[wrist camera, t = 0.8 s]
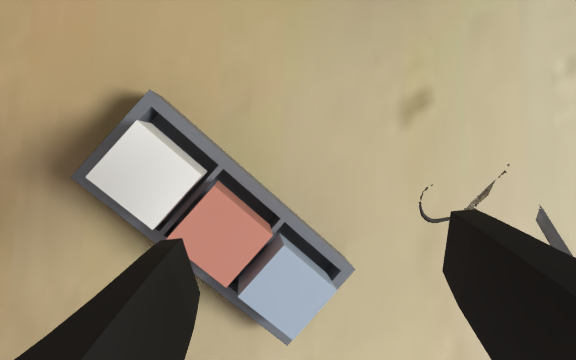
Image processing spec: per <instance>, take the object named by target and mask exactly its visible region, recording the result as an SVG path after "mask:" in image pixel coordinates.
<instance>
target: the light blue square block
mask: <svg viewBox="0 0 576 360" xmlns="http://www.w3.org/2000/svg"><path fill="white" fill-rule="evenodd" d="M336 291H337V289H336V287H335V286H334V284H333V282H332V281H331V279H330V278H329V276H328V275H327V273H326V272H325V271H324V270H322V269H321V268H320V267H319V266H318V265H317V264H315V263H314V262H313V261H312V260H311V259H310V258H308V257H307V256H306V255H305V254H304V253H303V252H301V251H300V250H299V249H298V248H297V247H296V246H294V245H293V244H292V243H291V242H290V241H288V240H287V239H286V238H285V237H284V236H283V235H281V234H280V233H279V234H278V235H277V236H276V237H275V238H274V239H273V241H272V242H271V243H270V244H269V245H268V246H267V247H266V248H265V249H264V251H263V252H262V253H261V254H260V255H259V256H258V257H257V258H256V260H255V261H254V262H253V263H252V264H251V265H250V266H249V267H248V268H247V270H246V271H245V272H244V273H243V274H242V275H241V276H240V277H239V283H238V298H240V299H241V300H242V301H244V302H245V303H246V304H247V305H249V306H250V307H251V308H252V309H254V310H255V311H256V312H258V313H259V314H260V315H261V316H263V317H264V318H265V319H267V320H268V321H269V322H270V323H272V324H273V325H274V326H275V327H277V328H278V329H279V330H281V331H282V332H283V333H284V334H286V335H287V336H288V337H289V338H291V339H292V340H294V338H295V337H296V336H297V335H298V334H299V333H300V332H301V331H302V330H303V328H304V327H305V326H306V325H307V324H308V323H309V322H310V321H311V319H312V318H313V317H314V316H315V315H316V314H317V313H318V312H319V310H320V309H321V308H322V307H323V306H324V305H325V304H326V303H327V301H328V300H329V299H330V298H331V297H332V296H333V295H334V294H335V292H336Z"/></svg>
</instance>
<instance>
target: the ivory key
mask: <svg viewBox="0 0 576 360" xmlns="http://www.w3.org/2000/svg"><path fill="white" fill-rule="evenodd" d="M206 173H207V170H205V169H204V168H203V167H202V166H201V165H200V164H198V163H197V162H196V161H195V160H194V159H193V158H191V157H190V156H189V155H188V154H187V153H186V152H184V151H183V150H182V149H181V148H180V147H179V146H177V145H176V144H175V143H174V142H173V141H172V140H170V139H169V138H168V137H167V136H166V135H164V134H163V133H162V132H161V131H160V130H159V129H157V128H156V127H155V126H154V125H153V124H152V123H147V122H143V121H139V120H136V121H135V123H134V124H133V125H132V126H131V127H130V128H129V129H128V130H127V131H126V133H125V134H124V135H123V136H122V137H121V138H120V139H119V140H118V141H117V143H116V144H115V145H114V146H113V147H112V148H111V149H110V150H109V151H108V152H107V154H106V155H105V156H104V157H103V158H102V159H101V160H100V161H99V162H98V164H97V165H96V166H95V167H94V168H93V169H92V170H91V171H90V172H89V174H88V175H87V176H86V178H87V179H88V180H89V181H91V182H92V183H93V184H95V185H96V186H97V187H98V188H100V189H101V190H102V191H103V192H105V193H106V194H107V195H109V196H110V197H111V198H112V199H114V200H115V201H116V202H117V203H119V204H120V205H121V206H123V207H124V208H125V209H126V210H128V211H129V212H130V213H131V214H133V215H134V216H135V217H137V218H138V219H139V220H140V221H142V222H143V223H144V224H145V225H147V226H148V227H149V228H151V229H152V230H153V229H154V228H155V227H156V226H158V225H159V224H160V223H161V222H162V221H163V220H164V219H165V218H166V217H167V216H168V215H169V214H170V213H171V212H172V210H173V209H174V208H175V207H176V206H177V205H178V204H179V203H180V202H181V200H182V199H183V198H184V197H185V196H186V195H187V194H188V193H189V192H190V190H191V189H192V188H193V187H194V186H195V185H196V184H197V183H198V182H199V180H200V179H201V178H202V177H203V176H204V175H205V174H206Z"/></svg>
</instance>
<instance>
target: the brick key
mask: <svg viewBox="0 0 576 360" xmlns="http://www.w3.org/2000/svg"><path fill="white" fill-rule="evenodd" d="M272 236H273V234H272V231H271V227H270V224H269V223H267V222H266V221H265V220H264V219H263V218H262V217H260V216H259V215H258V214H257V213H256V212H255V211H253V210H252V209H251V208H250V207H249V206H248V205H246V204H245V203H244V202H243V201H242V200H241V199H239V198H238V197H237V196H236V195H235V194H234V193H232V192H231V191H230V190H229V189H228V188H226V187H225V186H224V185H223V184H222V183H221V182H219V181H217V183H216V184H215V185H214V186H213V187H212V188H211V189H210V190H209V191H208V193H207V194H206V195H205V196H204V197H203V198H202V199H201V200H200V201H199V203H198V204H197V205H196V206H195V207H194V208H193V209H192V210H191V212H190V213H189V214H188V215H187V216H186V217H185V218H184V219H183V220H182V222H181V223H180V224H179V225H178V226H177V227H176V228H175V229H174V231H173V232H172V233H171V234H170V235H169V236H168V238H167V239H166V240H168V239H178V238H182V239H183V242H184V245H185V248H186V251H187V254H188V257H189V259H190V260H191V261H193V262H194V263H195V264H196V265H198V266H199V267H200V268H202V269H203V270H204V271H205V272H207V273H208V274H209V275H210V276H212V277H213V278H214V279H216V280H217V281H218V282H219V283H221V284H222V285H223V286H224V287H227V286H228V285H229V284H230V283H231V282H232V281H233V280H234V278H235V277H236V276H237V275H238V274H239V273H240V272H241V271H242V270H243V268H244V267H245V266H246V265H247V264H248V263H249V262H250V261H251V259H252V258H253V257H254V256H255V255H256V254H257V253H258V252H259V251H260V249H261V248H262V247H263V246H264V245H265V244H266V243H267V242H268V241H269V239H270V238H271V237H272Z"/></svg>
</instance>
